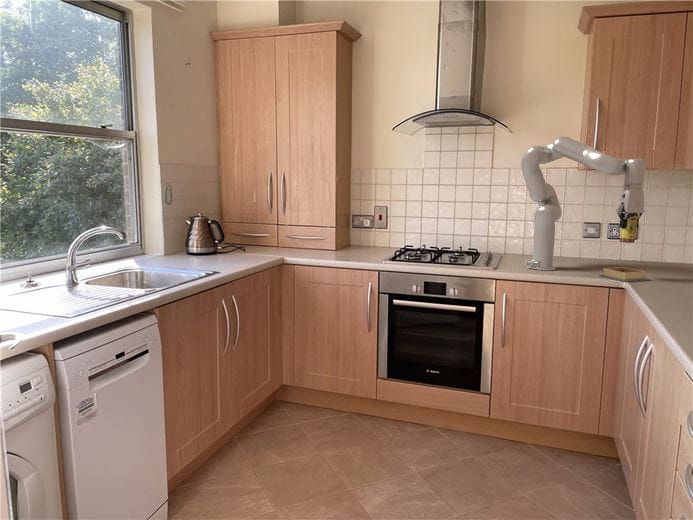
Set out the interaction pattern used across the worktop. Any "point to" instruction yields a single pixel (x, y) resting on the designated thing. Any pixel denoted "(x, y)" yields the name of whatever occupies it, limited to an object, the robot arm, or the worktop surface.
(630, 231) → the sauce bottle
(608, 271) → the yellow square tray
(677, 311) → the worktop surface
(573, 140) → the robot arm
